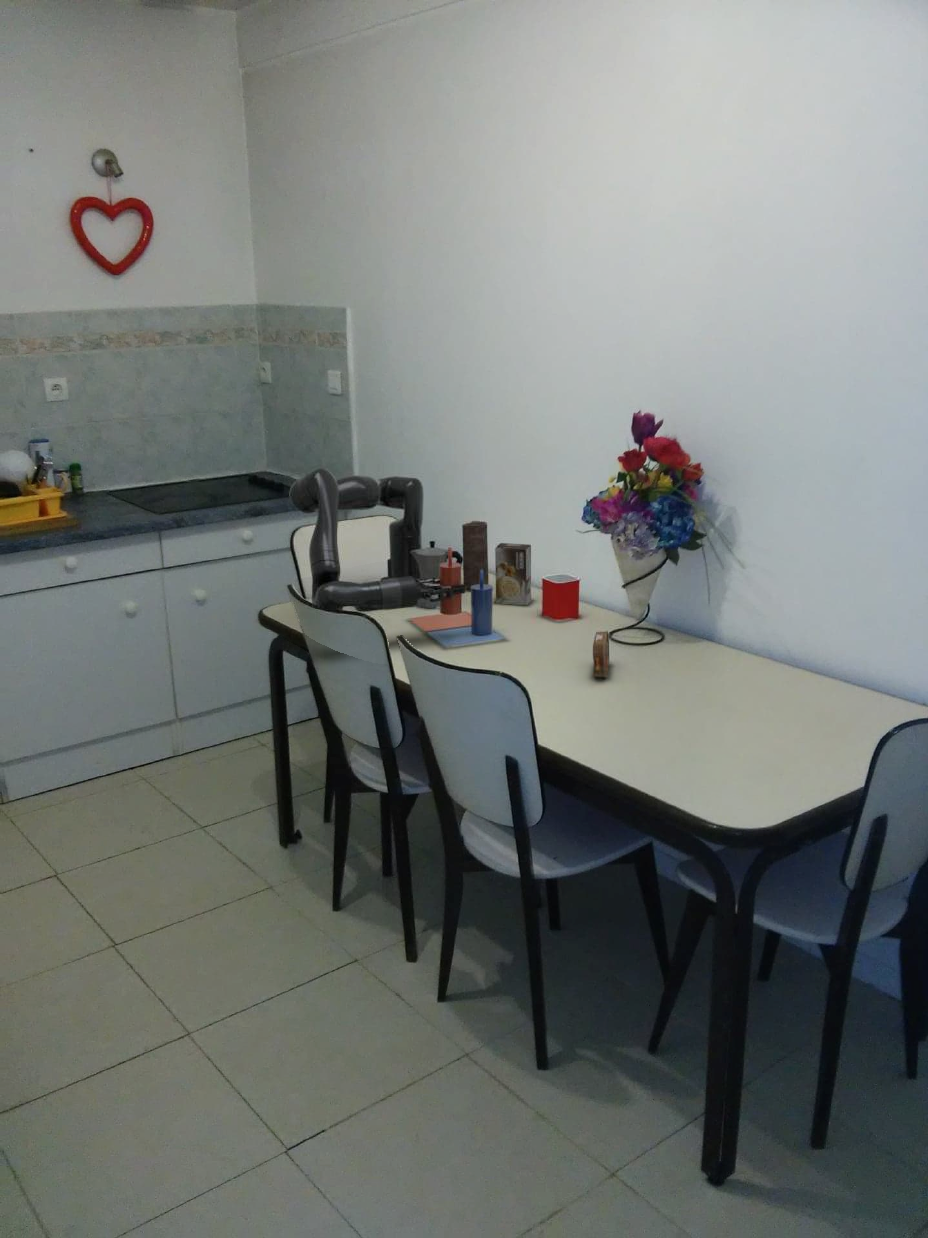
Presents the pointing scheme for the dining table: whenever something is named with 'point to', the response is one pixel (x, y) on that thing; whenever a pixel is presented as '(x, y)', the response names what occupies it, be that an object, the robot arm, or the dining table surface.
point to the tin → (601, 654)
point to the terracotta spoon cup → (449, 577)
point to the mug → (560, 596)
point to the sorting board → (452, 629)
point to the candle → (475, 553)
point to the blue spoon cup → (481, 608)
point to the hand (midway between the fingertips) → (459, 585)
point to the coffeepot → (432, 566)
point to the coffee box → (513, 573)
